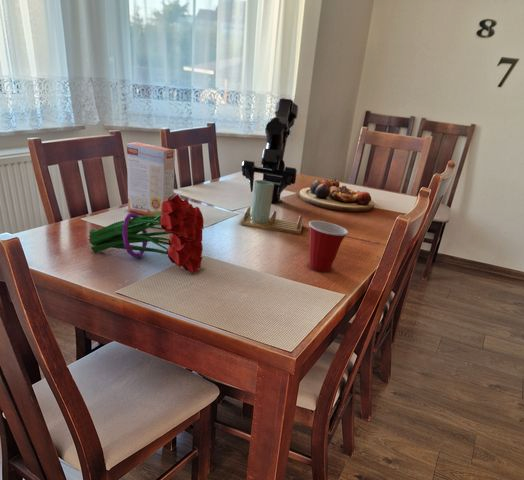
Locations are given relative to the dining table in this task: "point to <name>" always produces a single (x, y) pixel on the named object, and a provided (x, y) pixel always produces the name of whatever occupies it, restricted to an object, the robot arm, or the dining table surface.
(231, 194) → the dining table surface
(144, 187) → the cracker box
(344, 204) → the wooden plate
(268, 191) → the tumbler
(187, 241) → the bouquet
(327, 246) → the plastic cup
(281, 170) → the robot arm
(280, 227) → the drying rack
